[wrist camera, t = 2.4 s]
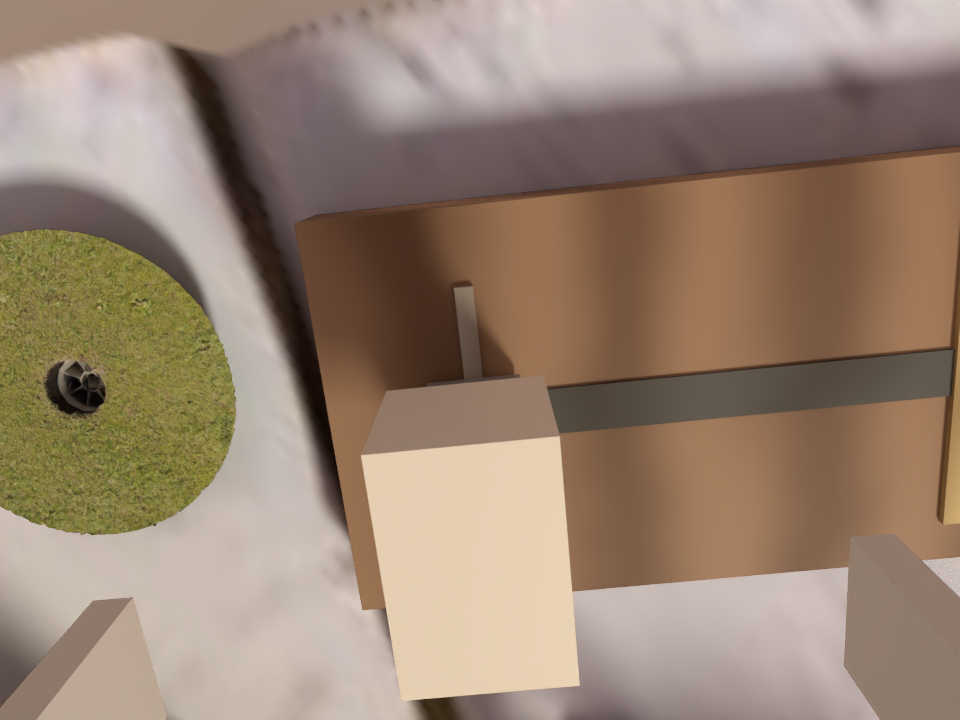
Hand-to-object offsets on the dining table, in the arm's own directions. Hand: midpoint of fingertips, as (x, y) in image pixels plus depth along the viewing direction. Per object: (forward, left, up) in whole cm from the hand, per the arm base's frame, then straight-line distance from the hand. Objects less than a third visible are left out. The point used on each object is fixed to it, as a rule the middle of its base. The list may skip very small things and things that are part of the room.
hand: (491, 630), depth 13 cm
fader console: (+11, 0, -14) cm, 18 cm away
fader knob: (0, 0, -11) cm, 11 cm away
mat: (-14, +2, -15) cm, 20 cm away
